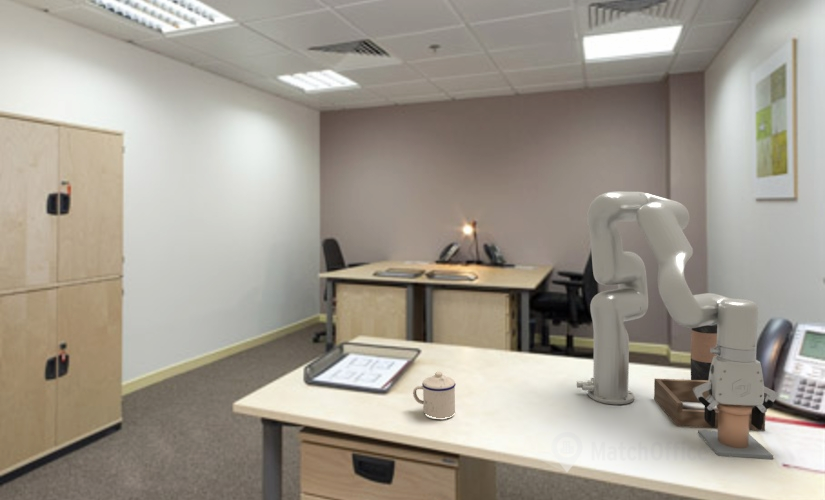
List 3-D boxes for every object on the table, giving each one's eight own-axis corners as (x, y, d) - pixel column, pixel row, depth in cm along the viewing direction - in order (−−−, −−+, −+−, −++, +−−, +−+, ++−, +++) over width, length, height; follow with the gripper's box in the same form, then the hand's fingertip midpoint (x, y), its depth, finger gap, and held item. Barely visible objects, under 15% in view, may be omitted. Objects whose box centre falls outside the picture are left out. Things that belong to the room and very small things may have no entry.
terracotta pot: (723, 448, 108) (724, 409, 108) (710, 434, 115) (711, 397, 114) (756, 450, 107) (758, 410, 106) (741, 435, 114) (742, 399, 113)
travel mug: (723, 391, 143) (725, 325, 142) (695, 390, 145) (696, 325, 143) (712, 382, 151) (714, 320, 149) (686, 381, 152) (687, 319, 151)
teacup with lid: (459, 409, 134) (458, 368, 134) (451, 423, 126) (450, 379, 125) (419, 404, 138) (418, 365, 138) (408, 417, 130) (407, 375, 129)
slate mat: (718, 455, 106) (718, 452, 106) (697, 433, 117) (697, 429, 117) (773, 459, 105) (773, 455, 104) (747, 435, 115) (747, 432, 115)
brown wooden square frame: (677, 426, 121) (677, 403, 121) (654, 398, 139) (654, 378, 139) (764, 430, 118) (765, 406, 117) (729, 401, 136) (730, 381, 135)
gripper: (701, 357, 107) (699, 430, 109) (788, 359, 104) (784, 435, 106) (688, 347, 114) (686, 416, 116) (769, 349, 111) (765, 421, 113)
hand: (733, 425), depth 111 cm, fingers open, 9 cm apart
